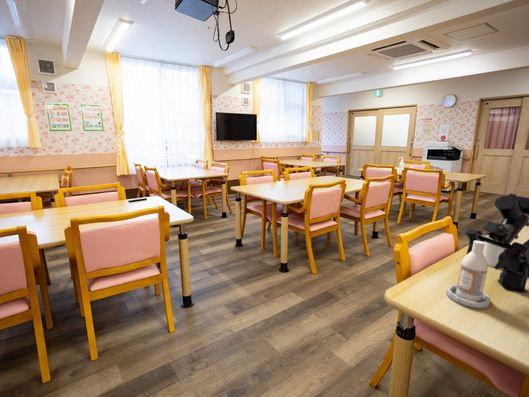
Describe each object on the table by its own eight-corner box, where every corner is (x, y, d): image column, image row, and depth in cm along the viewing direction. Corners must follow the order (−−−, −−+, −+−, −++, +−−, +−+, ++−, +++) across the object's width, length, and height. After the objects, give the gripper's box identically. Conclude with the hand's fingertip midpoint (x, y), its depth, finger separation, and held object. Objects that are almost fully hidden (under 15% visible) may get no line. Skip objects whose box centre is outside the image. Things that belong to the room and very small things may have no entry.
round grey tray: (480, 292, 101) (481, 287, 101) (496, 312, 90) (497, 306, 90) (442, 286, 105) (443, 281, 104) (452, 305, 94) (453, 300, 93)
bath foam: (451, 293, 99) (461, 239, 95) (465, 289, 102) (475, 237, 97) (471, 304, 93) (483, 247, 88) (485, 300, 95) (498, 244, 91)
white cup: (503, 269, 118) (508, 247, 116) (479, 264, 122) (484, 242, 120) (500, 262, 124) (505, 240, 122) (478, 257, 129) (482, 237, 126)
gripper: (473, 205, 101) (445, 238, 101) (536, 221, 84) (503, 261, 84) (484, 224, 106) (457, 255, 105) (546, 242, 89) (515, 281, 88)
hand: (480, 262), depth 95 cm, fingers open, 9 cm apart
